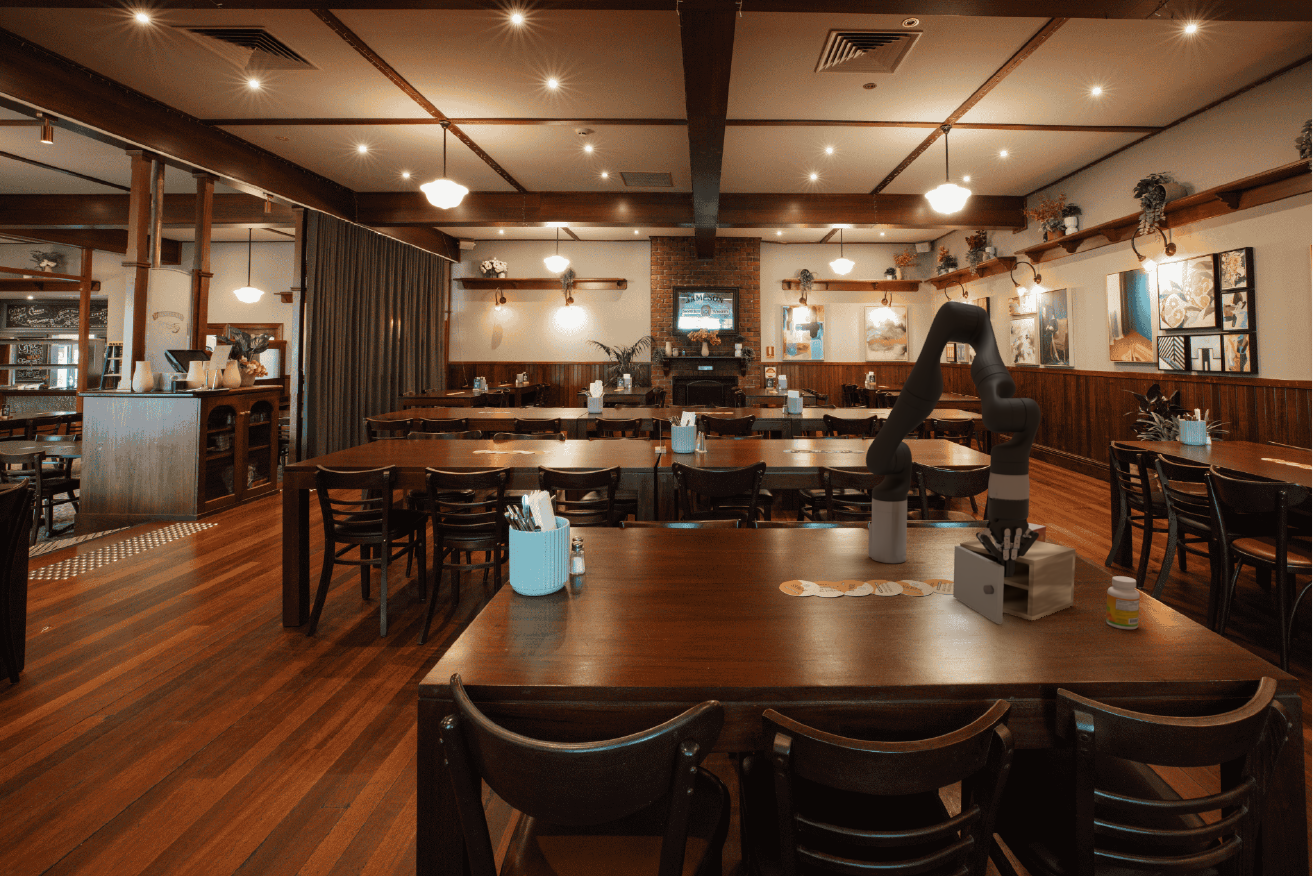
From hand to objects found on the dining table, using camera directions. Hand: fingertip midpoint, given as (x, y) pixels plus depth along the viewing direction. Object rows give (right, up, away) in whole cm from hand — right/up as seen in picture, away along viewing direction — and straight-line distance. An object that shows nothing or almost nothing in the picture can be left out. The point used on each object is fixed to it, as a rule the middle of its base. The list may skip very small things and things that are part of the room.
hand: (1005, 576), depth 137 cm
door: (-4, -9, +6) cm, 11 cm away
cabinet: (+8, -8, +11) cm, 16 cm away
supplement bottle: (+22, -10, -3) cm, 25 cm away
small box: (+20, -6, +30) cm, 37 cm away
